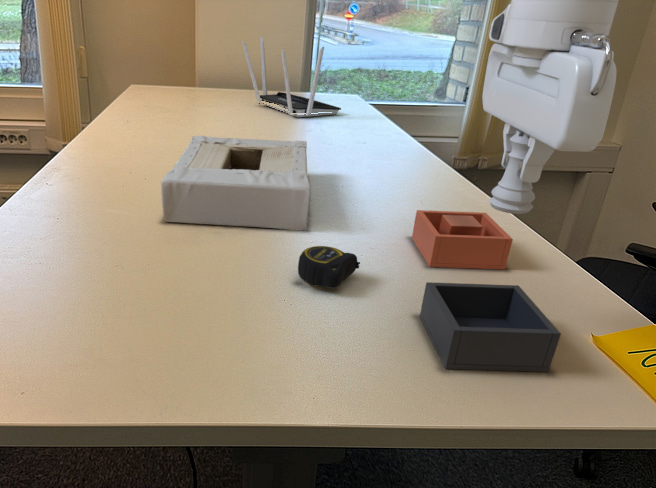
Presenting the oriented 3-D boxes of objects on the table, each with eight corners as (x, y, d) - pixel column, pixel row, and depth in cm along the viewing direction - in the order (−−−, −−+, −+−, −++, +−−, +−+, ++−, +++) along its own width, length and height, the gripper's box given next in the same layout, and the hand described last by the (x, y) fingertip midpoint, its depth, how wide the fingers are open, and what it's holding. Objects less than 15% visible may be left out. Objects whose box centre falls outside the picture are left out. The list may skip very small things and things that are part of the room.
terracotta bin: (479, 240, 91) (485, 212, 89) (504, 269, 81) (513, 239, 79) (411, 238, 91) (416, 210, 88) (429, 266, 81) (435, 236, 79)
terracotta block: (466, 244, 88) (472, 215, 86) (476, 256, 84) (483, 226, 82) (436, 243, 88) (442, 214, 85) (445, 255, 84) (451, 225, 82)
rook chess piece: (539, 216, 60) (561, 137, 56) (495, 213, 60) (515, 135, 56) (522, 202, 64) (542, 127, 60) (481, 200, 64) (499, 125, 60)
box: (191, 169, 120) (161, 223, 92) (191, 131, 117) (160, 175, 88) (303, 177, 120) (308, 233, 91) (307, 139, 116) (313, 185, 88)
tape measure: (335, 298, 72) (338, 270, 70) (287, 282, 75) (289, 256, 73) (358, 278, 77) (361, 252, 75) (312, 265, 80) (314, 240, 78)
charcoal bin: (508, 320, 69) (518, 285, 66) (548, 372, 59) (561, 333, 57) (419, 317, 68) (426, 282, 66) (445, 369, 59) (454, 330, 57)
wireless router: (352, 118, 174) (361, 46, 165) (288, 124, 164) (293, 47, 154) (291, 100, 200) (295, 36, 190) (231, 104, 189) (233, 36, 180)
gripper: (657, 37, 45) (600, 209, 51) (543, 23, 63) (512, 152, 69) (576, 33, 45) (528, 206, 51) (485, 20, 63) (459, 149, 69)
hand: (518, 174), depth 60 cm, fingers closed on rook chess piece, 3 cm apart
